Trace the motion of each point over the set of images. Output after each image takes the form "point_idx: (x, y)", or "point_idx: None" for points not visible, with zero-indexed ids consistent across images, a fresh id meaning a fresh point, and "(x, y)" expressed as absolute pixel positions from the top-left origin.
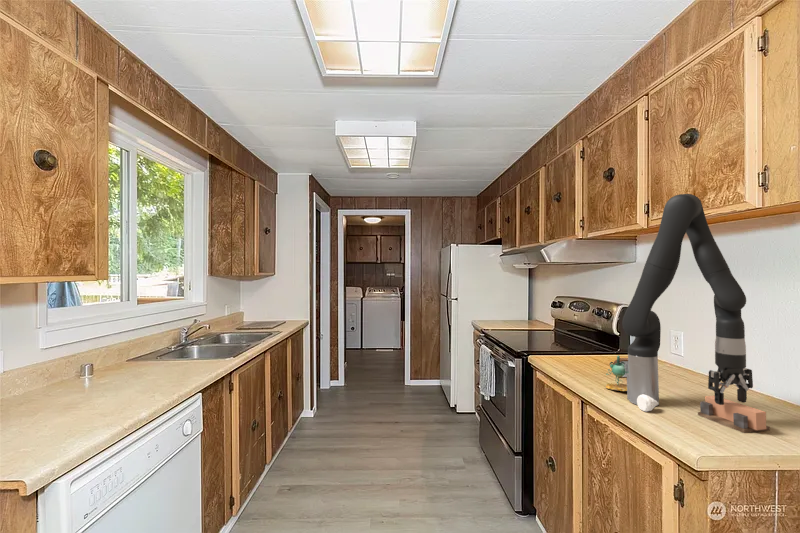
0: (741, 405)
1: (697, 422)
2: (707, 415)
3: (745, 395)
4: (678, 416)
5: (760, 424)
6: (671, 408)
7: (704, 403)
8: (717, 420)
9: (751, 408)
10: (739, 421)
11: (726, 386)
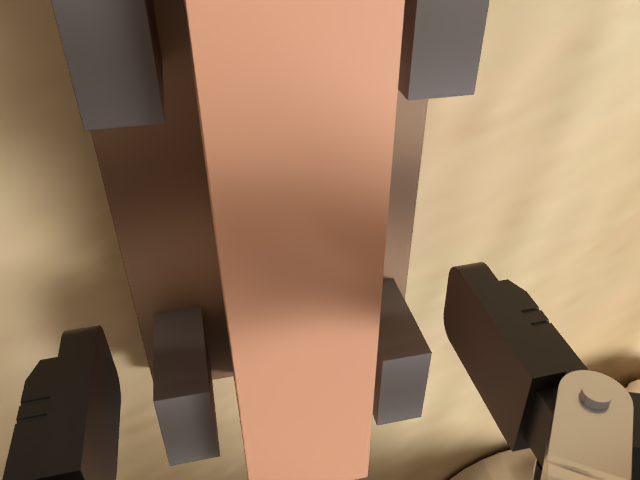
0: (273, 212)
1: (549, 199)
2: (402, 281)
3: (63, 408)
4: (546, 310)
5: None
6: (438, 429)
7: (425, 382)
8: (413, 188)
9: (252, 74)
10: None
11: (588, 475)
